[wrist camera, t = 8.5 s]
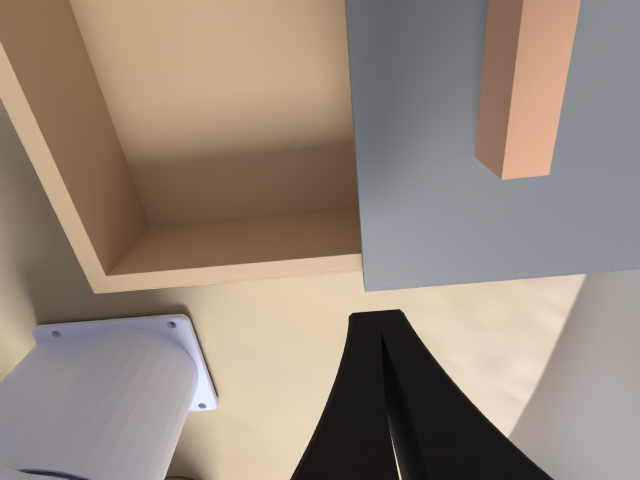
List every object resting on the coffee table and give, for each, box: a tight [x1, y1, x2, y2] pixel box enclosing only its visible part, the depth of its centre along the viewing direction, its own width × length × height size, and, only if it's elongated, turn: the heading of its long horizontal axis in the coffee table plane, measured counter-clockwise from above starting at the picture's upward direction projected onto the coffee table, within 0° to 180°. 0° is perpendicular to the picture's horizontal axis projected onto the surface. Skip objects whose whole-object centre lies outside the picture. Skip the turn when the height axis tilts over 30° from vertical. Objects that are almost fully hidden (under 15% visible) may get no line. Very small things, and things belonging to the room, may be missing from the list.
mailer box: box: [0, 0, 363, 294], centre depth 13 cm, size 14×18×5 cm
